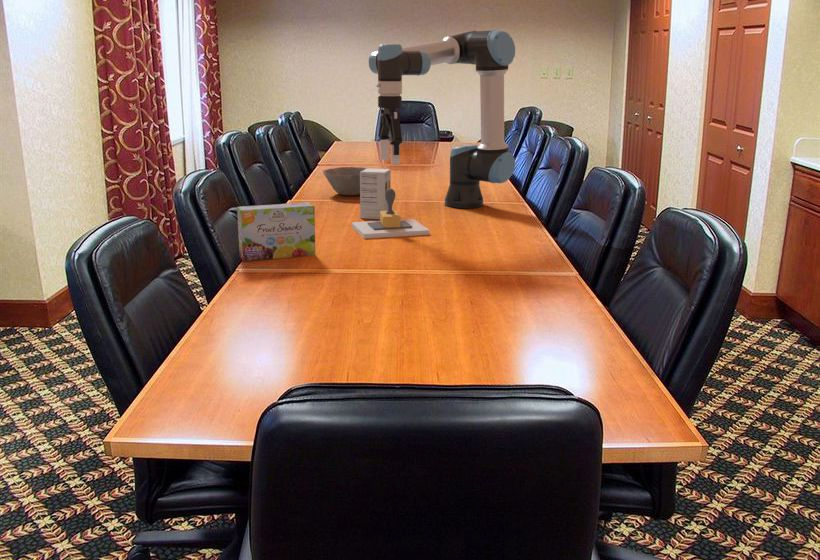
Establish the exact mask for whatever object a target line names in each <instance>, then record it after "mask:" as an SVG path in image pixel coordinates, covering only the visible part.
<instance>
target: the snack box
mask: <svg viewBox="0 0 820 560" xmlns="http://www.w3.org/2000/svg"><path fill="white" fill-rule="evenodd" d="M315 209H316V208H315V205H314V204H312V203H311V202H294V203H279V204H278V203H277V204H264V205H263V204H261V205H247V206H245V205H244V206H243V205H242V206H237V207H236V211H237V213H236V214H237V231H238V235H237V236H238V251H239V258H240V259H241V261H242V262H251V261H262V260H263V261H265V260H274V259H276V260H277V259H286V258H298V257H299V258H300V257H309V256H316V212H315V211H316V210H315Z"/></svg>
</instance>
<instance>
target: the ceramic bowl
mask: <svg viewBox="0 0 820 560" xmlns="http://www.w3.org/2000/svg"><path fill="white" fill-rule="evenodd" d="M365 169H370V167H369V168H366V167H360V166H359V167H358V166H356V167H355V166H345V167H343V166H341V167H334V168H328V169H327V168H326V169H324V170H322V173H323V175H324V176H325V178H326V180H327V181H328V183H329V184H330V186H331V188H332V189H333V191H335V192H336V193H337V194H338V195H342V196H358V195H360V172H361V171H363V170H365Z"/></svg>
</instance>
